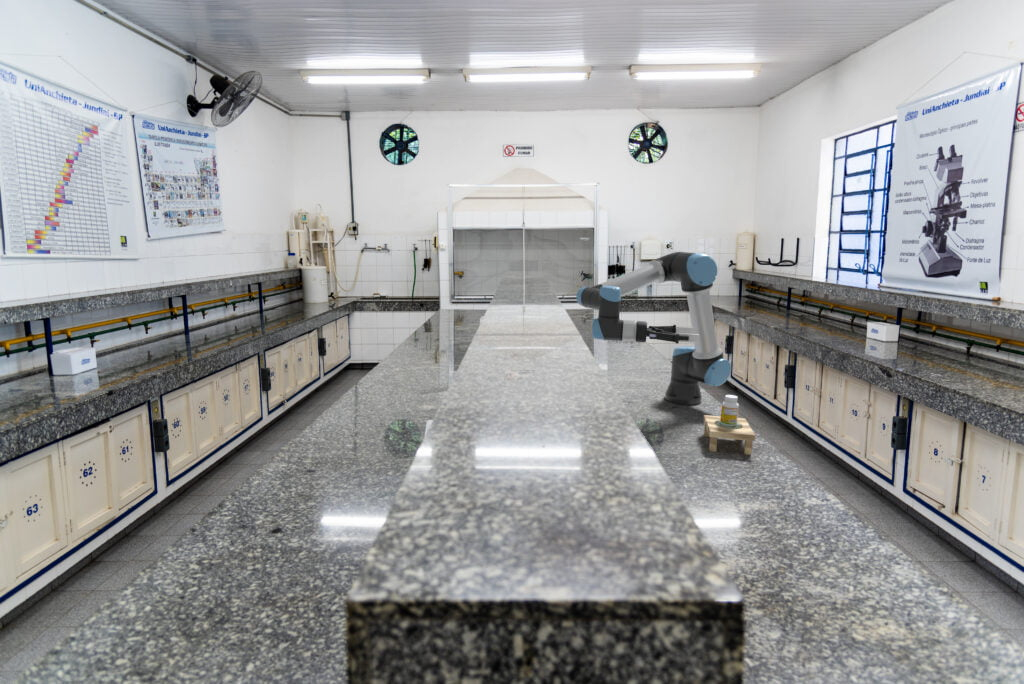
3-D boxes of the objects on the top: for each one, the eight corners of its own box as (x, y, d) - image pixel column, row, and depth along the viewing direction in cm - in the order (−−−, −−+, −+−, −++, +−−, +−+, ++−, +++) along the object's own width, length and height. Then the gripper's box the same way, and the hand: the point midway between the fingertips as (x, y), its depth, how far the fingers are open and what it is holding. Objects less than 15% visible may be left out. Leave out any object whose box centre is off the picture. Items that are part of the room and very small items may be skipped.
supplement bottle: (723, 420, 212) (726, 393, 210) (739, 424, 209) (742, 396, 207) (717, 423, 208) (720, 396, 206) (733, 427, 205) (736, 399, 203)
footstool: (702, 433, 220) (704, 414, 218) (743, 437, 217) (745, 418, 216) (708, 451, 202) (710, 430, 201) (753, 455, 200) (755, 434, 198)
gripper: (634, 335, 234) (691, 339, 230) (635, 348, 210) (699, 352, 206) (635, 316, 233) (693, 319, 229) (636, 326, 209) (701, 330, 205)
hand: (696, 335), depth 218 cm, fingers open, 13 cm apart
